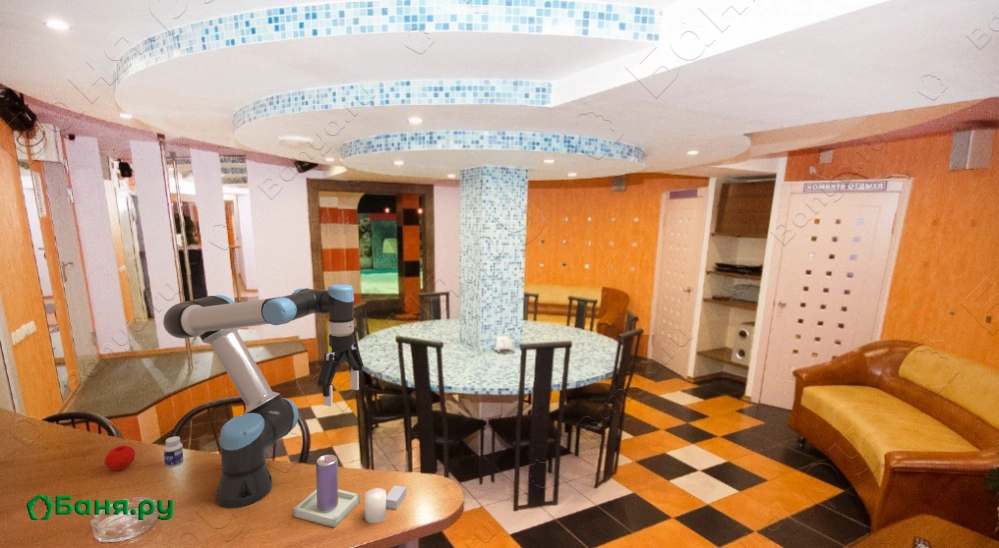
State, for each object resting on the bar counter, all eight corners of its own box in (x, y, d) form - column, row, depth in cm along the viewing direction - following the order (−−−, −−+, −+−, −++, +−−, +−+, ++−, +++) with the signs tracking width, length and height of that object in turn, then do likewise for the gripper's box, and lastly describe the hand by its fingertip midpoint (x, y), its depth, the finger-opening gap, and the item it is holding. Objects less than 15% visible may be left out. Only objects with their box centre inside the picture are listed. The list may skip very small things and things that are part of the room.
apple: (140, 466, 148) (139, 446, 147) (110, 478, 141) (108, 456, 140) (131, 459, 152) (129, 439, 151) (101, 469, 146) (99, 448, 145)
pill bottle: (160, 466, 149) (158, 441, 148) (174, 458, 154) (173, 434, 153) (173, 468, 148) (171, 444, 146) (187, 460, 153) (186, 436, 152)
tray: (293, 516, 127) (293, 508, 127) (321, 491, 139) (321, 484, 138) (334, 527, 123) (334, 520, 123) (359, 501, 135) (359, 494, 134)
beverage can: (331, 514, 127) (330, 466, 125) (312, 511, 128) (311, 463, 126) (342, 501, 133) (341, 455, 131) (324, 498, 134) (323, 452, 132)
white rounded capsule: (360, 520, 127) (360, 498, 126) (372, 507, 132) (372, 486, 131) (378, 525, 125) (378, 502, 124) (389, 512, 131) (390, 490, 130)
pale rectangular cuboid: (394, 493, 140) (394, 485, 139) (406, 496, 139) (406, 487, 138) (384, 508, 133) (384, 498, 132) (396, 510, 132) (396, 501, 132)
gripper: (325, 345, 126) (326, 415, 129) (373, 325, 150) (373, 384, 153) (303, 342, 128) (305, 410, 131) (354, 323, 152) (355, 381, 155)
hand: (342, 397), depth 142 cm, fingers open, 13 cm apart
